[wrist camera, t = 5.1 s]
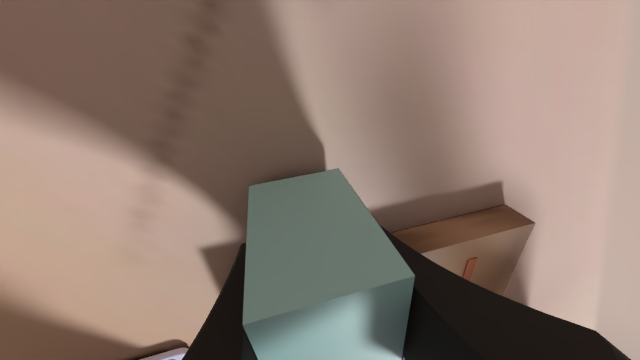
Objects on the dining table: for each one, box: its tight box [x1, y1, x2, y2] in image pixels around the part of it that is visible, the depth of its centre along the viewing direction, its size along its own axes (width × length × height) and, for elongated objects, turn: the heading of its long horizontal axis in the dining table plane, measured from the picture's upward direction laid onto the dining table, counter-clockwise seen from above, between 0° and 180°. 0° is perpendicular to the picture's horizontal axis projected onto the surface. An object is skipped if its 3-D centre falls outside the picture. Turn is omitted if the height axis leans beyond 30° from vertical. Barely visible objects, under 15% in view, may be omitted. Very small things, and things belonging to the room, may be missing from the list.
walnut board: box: [391, 205, 535, 296], centre depth 16 cm, size 18×8×2 cm, turn 94°
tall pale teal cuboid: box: [242, 168, 415, 360], centre depth 10 cm, size 4×10×6 cm, turn 5°
